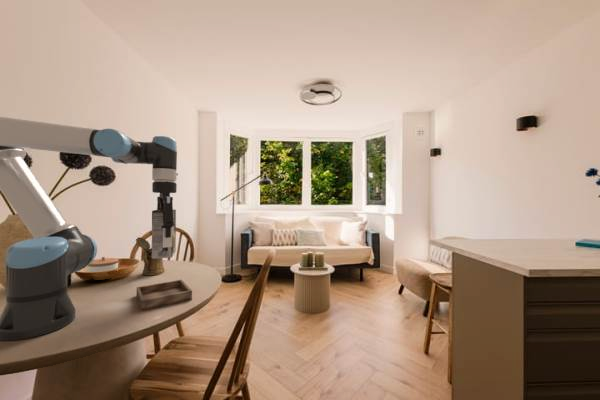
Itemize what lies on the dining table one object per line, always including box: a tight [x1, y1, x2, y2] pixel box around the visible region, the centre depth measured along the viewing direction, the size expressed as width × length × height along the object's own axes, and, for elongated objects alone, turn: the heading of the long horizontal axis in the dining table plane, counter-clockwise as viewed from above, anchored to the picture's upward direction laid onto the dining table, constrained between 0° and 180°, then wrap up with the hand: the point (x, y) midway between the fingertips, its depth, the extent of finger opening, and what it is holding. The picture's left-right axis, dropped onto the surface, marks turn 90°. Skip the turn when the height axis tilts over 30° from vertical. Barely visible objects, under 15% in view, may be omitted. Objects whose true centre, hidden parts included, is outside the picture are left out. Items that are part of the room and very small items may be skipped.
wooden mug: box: [135, 237, 166, 276], centre depth 117 cm, size 9×14×18 cm, turn 169°
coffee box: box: [151, 209, 177, 259], centre depth 90 cm, size 9×6×16 cm
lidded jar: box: [86, 256, 119, 273], centre depth 110 cm, size 11×11×9 cm
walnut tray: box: [136, 279, 193, 311], centre depth 90 cm, size 15×15×3 cm
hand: (164, 244), depth 90 cm, fingers closed on coffee box, 10 cm apart
